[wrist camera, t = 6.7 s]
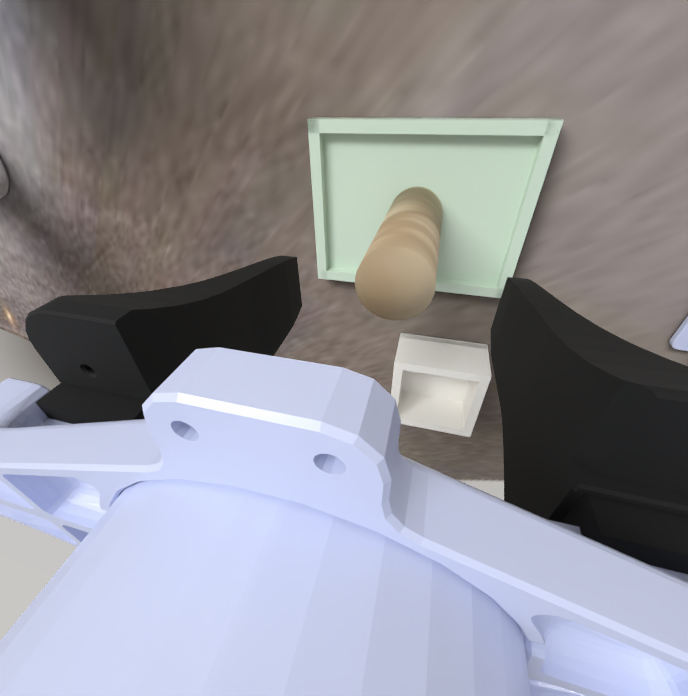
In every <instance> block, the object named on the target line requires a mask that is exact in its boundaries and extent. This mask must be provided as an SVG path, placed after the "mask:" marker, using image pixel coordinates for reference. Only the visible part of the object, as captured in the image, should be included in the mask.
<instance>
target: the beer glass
mask: <svg viewBox="0 0 688 696" xmlns="http://www.w3.org/2000/svg"><path fill="white" fill-rule="evenodd" d="M8 189H9V179H8V175H7V172H6V169H5V167H4V164H3V162H2V160H1V159H0V198H2V197H4V196H5V195H6V194H7V192H8Z"/></svg>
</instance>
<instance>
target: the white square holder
mask: <svg viewBox="0 0 688 696" xmlns="http://www.w3.org/2000/svg"><path fill="white" fill-rule="evenodd" d="M490 380H491V369H490V361H489V353H488V345H487V344H481V343H473V342H466V341H459V340H451V339H444V338H437V337H429V336H422V335H415V334H407V333H401V335H400V339H399V344H398V348H397V353H396V357H395V362H394V371H393V381H392V390H391V396H392V397H393V398H395V399H396V403H397V407H398V411H399V415H400V419H401V424H405V425H410V426H415V427H420V428H425V429H431V430H436V431H441V432H446V433H451V434H456V435H462V436H467V437H470V436H471V433H472V430H473V427H474V425H475V422H476V419H477V416H478V413H479V411H480V408H481V405H482V402H483V399H484V397H485V394H486V391H487V388H488V385H489V382H490Z"/></svg>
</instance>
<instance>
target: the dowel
mask: <svg viewBox="0 0 688 696" xmlns="http://www.w3.org/2000/svg"><path fill="white" fill-rule="evenodd" d="M442 213H443V210H442V204H441V202H440V200H439V198H438V197H437V195H436V194H435V193H434V192H432V191H431V190H429V189H427V188H424V187H411V188H408V189H406V190H404V191H402V192H401V193H400V194H399V195H398V196H397V197H396V198H395V199H394V201H393V203H392V205H391V207H390V209H389V210H388V212H387V214H386V216H385V218H384V220H383V222H382V224H381V226H380V227H379V229H378V231H377V233H376V235H375V237H374V239H373V241H372V243H371V245H370V246H369V248H368V250H367V252H366V254H365V256H364V258H363V260H362V262H361V263H360V265H359V267H358V269H357V272H356V276H355V289H356V293H357V295H358V298H359V299H360V301H361V303H362V304H363V305H364V306H365V307H366V308H367V309H368V310H369V311H370V312H372V313H373V314H375V315H377V316H379V317H381V318H384V319H388V320H405V319H409V318H412V317H414V316H416V315H418V314H420V313H421V312H422V311H424V310H425V309H426V308H427V307H428V305H429V304H430V303H431V301H432V299H433V296H434V293H435V288H436V277H437V267H438V256H439V246H440V235H441V225H442Z"/></svg>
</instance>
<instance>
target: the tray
mask: <svg viewBox="0 0 688 696" xmlns="http://www.w3.org/2000/svg"><path fill="white" fill-rule="evenodd" d="M563 121H564V120H562V119H559V118H342V117H315V118H310V119H308V134H309V148H310V163H311V178H312V193H313V208H314V222H315V237H316V252H317V267H318V278H319V279H329V280H338V281H347V282H355V276H356V272H357V269H358V267H359V265H360V263H361V262H362V260H363V258H364V256H365V254H366V252H367V250H368V248H369V246H370V245H371V243H372V241H373V239H374V237H375V235H376V233H377V231H378V229H379V227H380V226H381V224H382V222H383V220H384V218H385V216H386V214H387V212H388V210H389V209H390V207H391V205H392V203H393V201H394V199H395V198H396V197H397V196H398V195H399V194H400V193H401V192H402V191H404V190H406V189H408V188H411V187H424V188H427V189H429V190H431V191H432V192H434V193H435V194H436V195H437V197H438V198H439V200H440V202H441V204H442V210H443V213H442V225H441V235H440V246H439V256H438V267H437V277H436V288H435V291H439V292H449V293H458V294H467V295H476V296H486V297H495V298H501V296H502V293H503V289H504V286H505V283H506V280H507V277H511V278H512V277H513V274H514V271H515V268H516V265H517V262H518V259H519V256H520V252H521V249H522V246H523V243H524V240H525V237H526V234H527V231H528V228H529V225H530V222H531V219H532V216H533V213H534V210H535V207H536V203H537V200H538V197H539V194H540V191H541V188H542V185H543V182H544V179H545V176H546V173H547V170H548V167H549V164H550V161H551V157H552V154H553V151H554V148H555V145H556V142H557V139H558V136H559V133H560V130H561V127H562V124H563Z"/></svg>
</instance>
